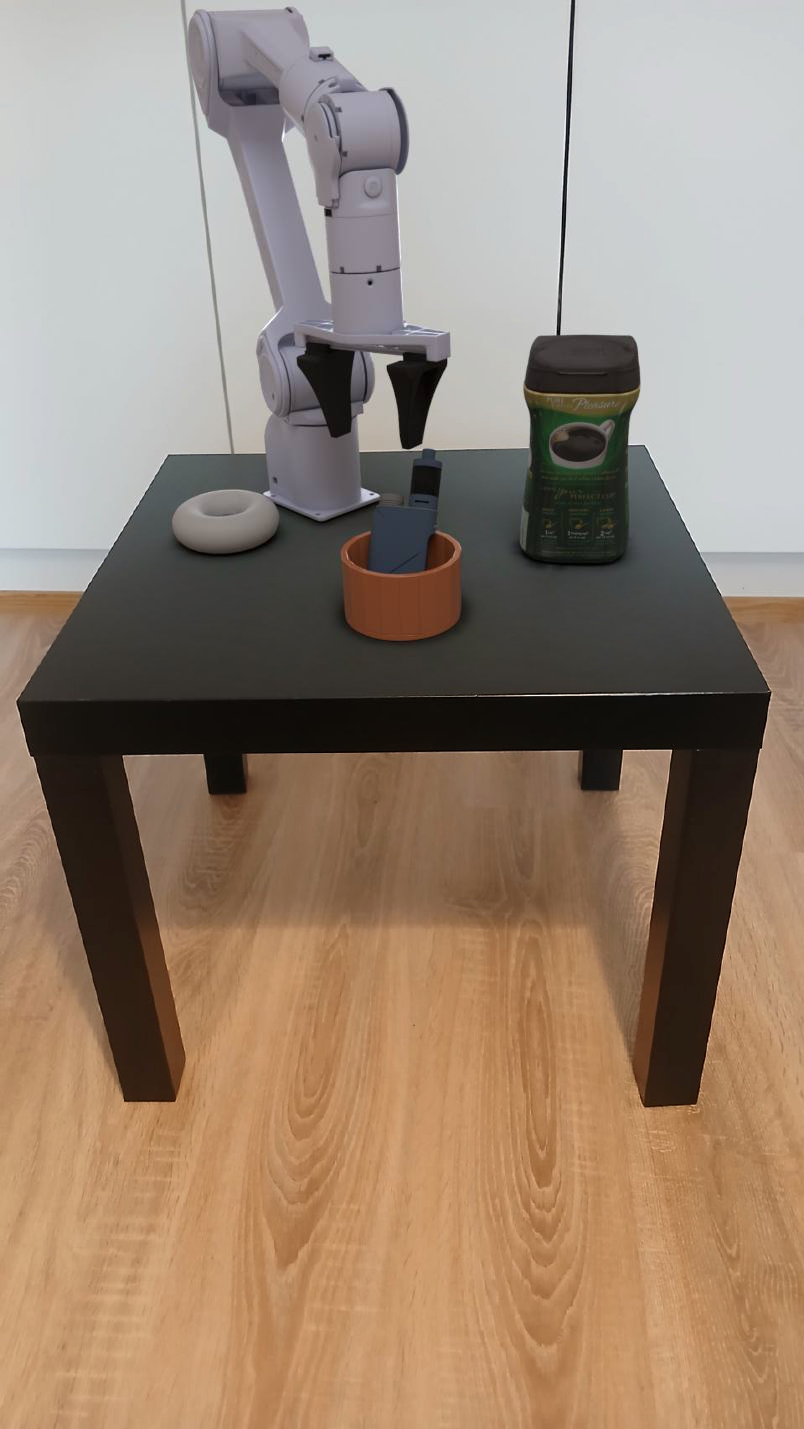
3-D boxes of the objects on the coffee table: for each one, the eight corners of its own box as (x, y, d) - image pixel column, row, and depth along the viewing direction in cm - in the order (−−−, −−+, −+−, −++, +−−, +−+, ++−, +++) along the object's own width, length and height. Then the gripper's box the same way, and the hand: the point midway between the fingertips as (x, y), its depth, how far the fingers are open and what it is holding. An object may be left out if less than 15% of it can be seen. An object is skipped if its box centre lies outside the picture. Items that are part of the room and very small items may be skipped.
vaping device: (426, 599, 84) (443, 447, 83) (361, 593, 84) (377, 442, 84) (430, 602, 86) (446, 454, 86) (367, 595, 87) (382, 449, 86)
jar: (321, 613, 86) (316, 551, 83) (405, 576, 91) (403, 517, 88) (400, 653, 80) (397, 588, 77) (485, 611, 85) (486, 549, 82)
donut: (158, 558, 96) (262, 562, 94) (151, 522, 94) (258, 526, 92) (197, 515, 104) (294, 519, 102) (192, 482, 102) (290, 484, 101)
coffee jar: (625, 532, 98) (645, 324, 87) (628, 569, 91) (649, 348, 81) (520, 529, 99) (527, 323, 89) (515, 565, 92) (522, 347, 82)
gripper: (470, 264, 82) (473, 438, 89) (325, 258, 89) (338, 418, 96) (418, 278, 77) (425, 461, 84) (270, 270, 84) (287, 438, 91)
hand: (375, 440), depth 90 cm, fingers open, 7 cm apart
